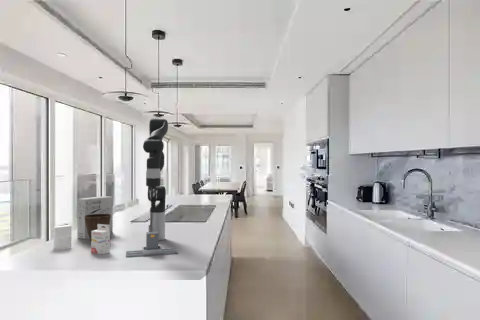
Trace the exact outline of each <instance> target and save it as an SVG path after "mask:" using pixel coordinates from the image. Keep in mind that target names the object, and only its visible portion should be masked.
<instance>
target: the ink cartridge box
mask: <svg viewBox="0 0 480 320" xmlns="http://www.w3.org/2000/svg"><path fill="white" fill-rule="evenodd" d="M101 226H104V227H106V228H102V227H101ZM97 227H98V230H93V231H91V240H90V243H91V244H90V245H91V247H90V253H92V254H99V255H105V254H108V253H110V251H111V250H110V249H111V248H110V247H111V246H110V245H111V242H110V239H111V238H110V237H111V234H110V229H109V225H104V224H97Z"/></svg>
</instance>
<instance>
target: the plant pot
mask: <svg viewBox="0 0 480 320" xmlns="http://www.w3.org/2000/svg"><path fill="white" fill-rule="evenodd" d="M84 217H85V224H86V228H87V232H88V235H89V238H88V239H89V240H90V241H91V231H93V230H98V227H97V224H104V225H109V224H110V218H111V215H110V214H92V215H86V216H84ZM101 227H102V228H106V227H104V226H101Z"/></svg>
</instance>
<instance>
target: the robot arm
mask: <svg viewBox="0 0 480 320" xmlns="http://www.w3.org/2000/svg"><path fill="white" fill-rule="evenodd" d="M148 127H149V128H148V129H149V133H148V134H149V137H147V138H146V139H145V140H144V142H143V144H142V148H143V151H144V152H145V153H147V154H148V158H147V159H146V172H145V185H146V187H147V199H148V201H149V202H150V208H149V224H148V232H158V242H159V241H163V240H165V239H166V196H167V194H166V193H167V190H166V187H165V186H163V185H162V184H161V183H162V182H161V181H162V179H161V176H162V175H161V172H162V170H163V169H164V167H165V154H164V148H165V143H164V141H163V138H164V137H165V136H166V135H167V133H168V129H169V122H168V120H167V119H165V118H154V117H153V118H151V119H150V120H149V126H148ZM157 202H158V203H157Z"/></svg>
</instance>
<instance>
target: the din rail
mask: <svg viewBox="0 0 480 320" xmlns="http://www.w3.org/2000/svg"><path fill="white" fill-rule="evenodd" d="M176 254H178V249H177V247H169V248H163V246H162V245H158V249H150V250H146V246H142V247H141V249H139V250H138V249H137V250H126V251H125V258H133V257H135V258H136V257H146V256H148V257H149V256H150V257H151V256H160V255H163V256H164V255H176Z"/></svg>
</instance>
